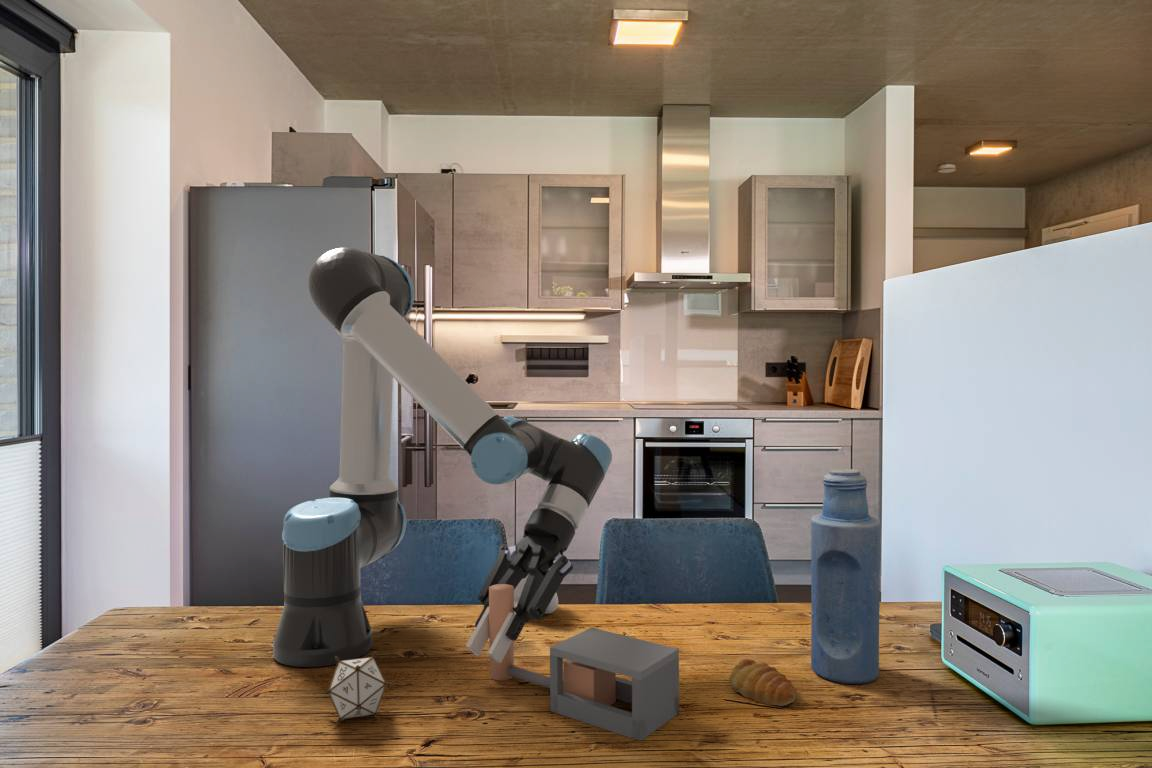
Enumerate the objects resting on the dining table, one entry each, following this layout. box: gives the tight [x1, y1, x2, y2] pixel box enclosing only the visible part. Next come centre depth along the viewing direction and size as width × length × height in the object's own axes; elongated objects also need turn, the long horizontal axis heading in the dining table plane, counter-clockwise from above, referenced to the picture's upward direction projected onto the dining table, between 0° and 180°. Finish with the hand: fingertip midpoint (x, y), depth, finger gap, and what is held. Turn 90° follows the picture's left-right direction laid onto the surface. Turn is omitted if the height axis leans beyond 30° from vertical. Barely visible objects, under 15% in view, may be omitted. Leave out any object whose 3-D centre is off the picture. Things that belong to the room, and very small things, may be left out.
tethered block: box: [488, 584, 617, 707], centre depth 111 cm, size 20×5×13 cm, turn 53°
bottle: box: [810, 468, 881, 685], centre depth 116 cm, size 10×10×30 cm
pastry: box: [728, 658, 798, 707], centre depth 109 cm, size 9×7×4 cm
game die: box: [322, 650, 393, 727], centre depth 102 cm, size 9×8×10 cm
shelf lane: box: [549, 627, 680, 742], centre depth 104 cm, size 14×9×8 cm
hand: (483, 654), depth 113 cm, fingers closed on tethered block, 4 cm apart
